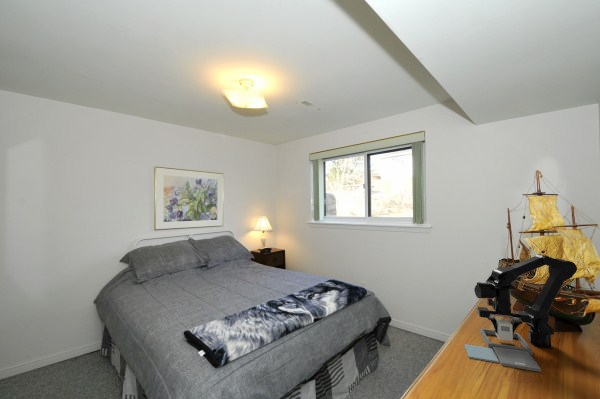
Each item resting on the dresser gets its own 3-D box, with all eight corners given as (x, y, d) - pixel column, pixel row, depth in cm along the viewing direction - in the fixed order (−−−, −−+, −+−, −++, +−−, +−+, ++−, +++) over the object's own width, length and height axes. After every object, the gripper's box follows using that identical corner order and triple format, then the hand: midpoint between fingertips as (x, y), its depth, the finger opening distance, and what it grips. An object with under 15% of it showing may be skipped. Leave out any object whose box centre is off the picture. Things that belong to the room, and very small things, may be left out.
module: (509, 335, 120) (508, 320, 120) (513, 341, 115) (512, 325, 115) (495, 334, 122) (494, 318, 122) (499, 339, 117) (498, 323, 117)
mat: (491, 349, 113) (491, 348, 113) (498, 362, 104) (498, 361, 104) (464, 345, 117) (464, 344, 117) (468, 357, 108) (468, 356, 108)
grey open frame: (519, 337, 122) (518, 333, 122) (546, 372, 97) (546, 367, 97) (480, 332, 128) (480, 328, 128) (496, 364, 103) (496, 359, 103)
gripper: (521, 294, 122) (523, 329, 122) (473, 290, 130) (475, 323, 129) (531, 303, 112) (533, 341, 112) (479, 298, 119) (480, 333, 119)
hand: (503, 334), depth 118 cm, fingers closed on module, 5 cm apart
